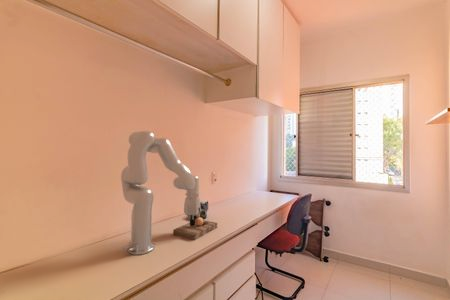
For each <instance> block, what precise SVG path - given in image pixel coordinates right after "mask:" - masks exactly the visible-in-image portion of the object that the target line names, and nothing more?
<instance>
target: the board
mask: <svg viewBox="0 0 450 300" xmlns="http://www.w3.org/2000/svg"><path fill="white" fill-rule="evenodd" d="M195 221H196V219H195ZM217 228H218V222H214V221H210V220H205V219H203V224H202V225H201V226H198V225H197V224H196V222H195V225H194V226H190V222H188V223H186V224H184V225H180V226H179V227H176V228H174V229H173V230H172V231H173V233H172V234H173V236H176V237H177V236H178V237H180V238H183V239H184V238H185V239H189V240H193V241H196V240H198V239H199V238H201V237H203V236H205V235H206V234H209V233H210V232H212V231H214V230H215V229H217Z"/></svg>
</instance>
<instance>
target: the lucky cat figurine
mask: <svg viewBox="0 0 450 300" xmlns="http://www.w3.org/2000/svg"><path fill="white" fill-rule="evenodd" d="M200 206H201V212H200V218H202V219H207V216H208V214H207V213H208V211H209V201H208V200H207V201H200Z"/></svg>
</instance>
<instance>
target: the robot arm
mask: <svg viewBox="0 0 450 300" xmlns="http://www.w3.org/2000/svg"><path fill="white" fill-rule="evenodd" d="M128 143H129V145H130V146H129V147H128V150H127V166H125V167H124V168H123V169H122V171H121V173H120V180H121V187H122V193H123V194H122V195H123V198H124V200H125V201H126V202H128V203H129V204H133V207H132V211H131V219H130V220H131V222H130V223H131V224H130V225H131V239H130V240H131V241H130V242H129V244H128V245H127V246H125V247H122V250H121V251H122V252H123V253H125V252H127V253H128V254H130V255H138V256H139V255H144V254H149V253H151V252H152V251H154V250H155V244H154V243H153V242H152V210H153V203H154V193H153V191H152V189H150V188H149V187H146V186H141V185H145V184H146V183H147V182H148V179H149V172H148V166H147V165H148V164H147V152H149V153H152V154H158V157H160V159H161V161H162V163H163V165H164V167H165V168H166V169H168V170H169V171H171V172H172V173H174V174H175V175H177V177H174V179H173V183H172V184H173V187H175V188H176V189H177V190H183V191H186V192H185V196H186V197H185V199H184V203H183V213H184V214H185V215H186V216H188V220H189V223H190V226H194V225H195V220H196V219H197V218H199V217H200V212H201V206H200V202H201V200H200V197H199V193H200V191H199V190H200V189H199V188H200V185H199V184H200V183H199V181H200V177H199V176H198V175H193V173H192V172H191V171H190V169H189V168H188V167H187V166H186V165H185V164H184V162H182V161H181V160H180V159H179V157H178V155H177V153H176V152H175V149H174V148H173V145H172V144H171V142H170V140H169V139H167V138H165V137H158V138H157V137H156V138H155V134H154V132H152V131H149V130H142V131H136V132H132V133H131V134H130V135H129V136H128ZM200 218H201V217H200Z"/></svg>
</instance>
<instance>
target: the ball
mask: <svg viewBox="0 0 450 300" xmlns="http://www.w3.org/2000/svg"><path fill="white" fill-rule="evenodd" d="M195 220H196V221H195V222H196V224H197V225H198V226H201V225H202V224H203V220H204V218H203V217H197V218H196V219H195Z"/></svg>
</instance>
